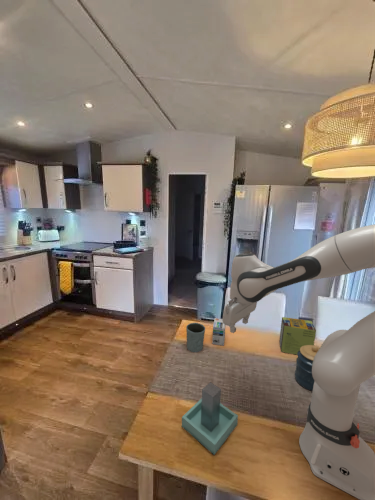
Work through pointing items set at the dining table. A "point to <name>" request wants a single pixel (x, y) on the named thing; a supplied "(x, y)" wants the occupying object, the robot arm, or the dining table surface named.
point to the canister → (305, 366)
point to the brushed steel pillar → (210, 406)
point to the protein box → (296, 334)
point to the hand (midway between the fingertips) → (239, 327)
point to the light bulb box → (218, 332)
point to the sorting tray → (202, 434)
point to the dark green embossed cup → (195, 336)
